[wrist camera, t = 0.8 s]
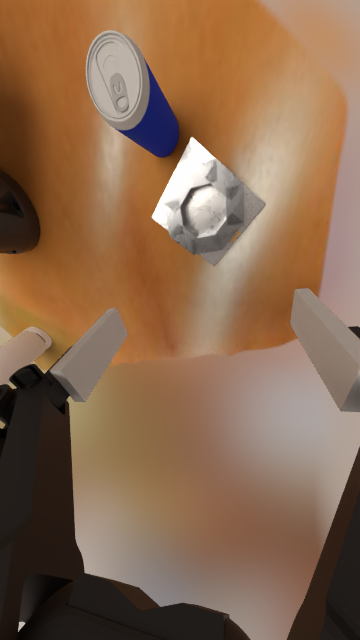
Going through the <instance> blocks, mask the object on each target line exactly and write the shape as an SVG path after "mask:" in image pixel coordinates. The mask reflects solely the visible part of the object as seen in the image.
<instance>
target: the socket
mask: <svg viewBox="0 0 360 640" xmlns="http://www.w3.org/2000/svg"><path fill="white" fill-rule="evenodd" d="M264 205H265V203H264V202H263V201H262V200H261V199H260V198H258V197H257V196H256V195H255V194H254V193H253V192H252V191H251V190H250V189H249V188H248V187H246V186H245V185H244V183H243V182H241V181H240V180H239V179H238V178H237V177H236V176H235V175H234V174H233V173H232V172H230V171H229V170H228V169H227V168H226V167H225V166H224V165H223V164H222V163H221V162H220V161H218V160H217V159H216V158H215V157H214V156H212V155H211V154H210V153H209V152H208V151H207V150H206V149H205V148H204V147H203V146H202V145H200V144H199V143H198V142H197V141H196V140H195V139H194V138H193V137H191V139H190V141H189V143H188V145H187V147H186V149H185V151H184V153H183V155H182V157H181V159H180V161H179V163H178V165H177V167H176V169H175V171H174V173H173V175H172V177H171V179H170V181H169V183H168V185H167V187H166V189H165V191H164V193H163V195H162V197H161V199H160V201H159V203H158V205H157V207H156V209H155V211H154V213H153V215H152V217H151V218H152V219H153V220H155V221H156V222H157V223H159V224H160V225H161V226H163V227H164V228H165V229H166V230H168V231H169V235H170V237H171V238H172V239H174V240H175V241H176V242H178V243H179V244H180V245H181V246H183V247H184V248H185V249H187V250H188V251H189V252H191V253H192V254H193V255H194V254H199V255H200V256H202V257H203V258H204V259H205V260H207V261H208V262H209V263H211V264H212V265H213V266H215V265H216V264H217V262H218V261H219V260H220V259H221V258H222V256H223V255H224V254H225V253H226V251H227V250H228V249H229V248H230V247H231V245H232V244H233V243H234V242H235V240H236V239H237V238H238V237H239V236H240V234H241V233H242V232H243V231H244V229H245V228H246V227H247V226H248V225H249V223H250V222H251V221H252V220H253V219H254V217H255V216H256V215H257V214H258V212H259V211H260V210H261V209H262V208H263V206H264Z"/></svg>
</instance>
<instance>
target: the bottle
mask: <svg viewBox="0 0 360 640" xmlns="http://www.w3.org/2000/svg"><path fill="white" fill-rule="evenodd" d="M36 333H37V334H39V335H40V336H41V337H42V338H43V339H44V340H45V341H46V342H44V340H43V339H42V338H41V337H40V336H38V335H37V334H36ZM51 345H52V340H51V338H50V337H49V335H48V334H47V333H46V332H45V331H43V330H42V329H39V328H37V327H29V328H27V329H25V330H24V331H23V332H21V333H20V334H18V335H17V336H15V337H14V338H12V339H11V340H9V341H8V342H6V343H5V344H4V345H2V346H1V347H0V385H3V384H8V383H9V382H10V381H9V378H10V377H11V376H12V375H13V374H14V373H15V372H16V371H17V370H19V369H20V368H22V367H24V366H27V365H30V364H31V363H32V362H33V361H34V360H35V359H36V358H38V357H39V356H40V355H41V354H42V353H43V352H44V351H45V350H47V349H48V348H49V347H50V346H51Z"/></svg>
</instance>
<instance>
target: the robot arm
mask: <svg viewBox="0 0 360 640" xmlns="http://www.w3.org/2000/svg"><path fill="white" fill-rule="evenodd" d="M38 239H39V222H38V218H37V215H36V212H35V210H34V208H33V206H32V204H31V202H30V200H29V198H28V197H27V195H26V194H25V192H24V191H23V190H22V189H21V187H20V186H19V185H18V184H17V183H16V182H15V181H14V180H13V179H12V178H11V177H10V176H9V175H7V174H6V173H5V172H3V171H2V170H0V253H7V254H18V253H22V252H26V251H29V250H31V249H33V248H34V247H35V246H36V244H37V242H38ZM290 325H291V327H292V329H293V330H294V332H295V334H296V335H297V337H298V339H299V341H300V342H301V344H302V346H303V347H304V349H305V351H306V353H307V354H308V356H309V358H310V360H311V361H312V363H313V365H314V367H315V368H316V370H317V372H318V373H319V375H320V377H321V379H322V380H323V382H324V384H325V385H326V387H327V389H328V390H329V392H330V394H331V396H332V398H333V399H334V401H335V403H336V404H337V406H338V408H339V409H340V411H348V412H349V411H350V412H360V327H358V326H356V327H347V326H346V325H345V324H344V323H343V322H342V321H341V320H340V319H339V318H338V317H337V316H336V315H335V314H334V313H333V312H332V311H331V310H330V309H329V308H328V307H327V306H326V305H325V304H324V303H323V302H322V301H321V300H320V299H319V298H318V297H317V296H316V295H315V294H314V293H313V292H312V291H311V290H310V289H309V288H304V289H295V293H294V299H293V306H292V313H291V320H290ZM127 335H128V333H127V331H126V328H125V326H124V324H123V322H122V319H121V317H120V315H119V312H118V310H117V308H110V309H108V310H107V311H106V312H105V313H104V314H103V315H102V316H101V317H100V318H99V319H98V320H97V321H96V322H95V323H94V324H93V325H92V326H91V328H90V329H89V330H88V331H87V332H86V333H85V334H84V335H83V336H82V337H81V338H80V339H79V340H78V341H77V342H76V343H75V344H74V345H73V346H71V347H70V348H69V349H68V350H67V351H66V352H65V354H63V355H62V356H61V357H60V359H58V361H57V362H56V363H55V364H54V365H53V366H52V367H51V368H50V369H49V370H48V371H47V372H46V373H45V374H44V373H43V372H42V371H41V370H40V369H39V368H38V366H37V365H35V364H30V365H27V366H24V367H22V368H20V369H19V370H17V371H16V372H15V373H14V374H13V375H12V376H11V377H10V378H9V381H10V382H12V383H13V384H14V385H15V386H16V387H17V388H16V389H12V388H11V387H10V386H9V385H8V384H3V385H0V420H1V421H2V422H3V423H5V424H6V425H5V426H4V428H3V429H1V428H0V640H250V638H249V637H248V636H247V635H246V633H245V632H244V631H243V630H242V629H241V628H240V627H239V626H238V625H237V624H236V623H234V622H233V621H232V620H231V619H229V614H226V613H223V612H219V611H215V610H212V609H209V608H206V607H202V606H199V605H194V604H187V603H179V604H175V605H169V606H164V607H160V606H159V605H158V604H157V603H156V602H154V601H153V600H152V599H151V598H150V597H149V596H148V595H147V594H145V593H144V592H143V591H142V590H141V589H140V588H139V587H135V586H132V585H129V584H125V583H122V582H118V581H115V580H111V579H107V578H103V577H98V576H94V575H90V574H86V573H84V564H83V559H82V555H81V552H80V550H79V548H78V546H77V543H76V540H75V523H74V501H73V480H72V458H71V437H70V416H69V403H68V401H67V398H68V397H69V396H71V397H72V399H73V400H74V401H76V402H85V401H86V400H87V398H88V397H89V395H90V393H91V392H92V390H93V389H94V387H95V386H96V384H97V382H98V381H99V379H100V378H101V376H102V375H103V373H104V371H105V370H106V368H107V367H108V365H109V364H110V362H111V360H112V359H113V357H114V356H115V354H116V352H117V351H118V349H119V348H120V346H121V345H122V343H123V341H124V340H125V338H126V337H127ZM22 621H23V622H25V625H24V626H23V627H22V628H21V629H20V631H19V632H18V626H19V622H22ZM287 640H360V447H359V450H358V453H357V456H356V459H355V461H354V464H353V467H352V470H351V472H350V475H349V478H348V481H347V483H346V486H345V489H344V492H343V494H342V497H341V500H340V503H339V505H338V508H337V511H336V514H335V517H334V519H333V522H332V525H331V528H330V531H329V533H328V536H327V539H326V541H325V544H324V547H323V550H322V553H321V555H320V558H319V561H318V564H317V567H316V569H315V572H314V575H313V577H312V580H311V583H310V586H309V589H308V591H307V594H306V596H305V599H304V601H303V604H302V605H301V607H300V609H299V611H298V613H297V615H296V618H295V620H294V622H293V625H292V627H291V630H290V632H289V635H288V638H287Z"/></svg>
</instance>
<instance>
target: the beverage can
mask: <svg viewBox="0 0 360 640" xmlns="http://www.w3.org/2000/svg"><path fill="white" fill-rule="evenodd" d="M86 80H87V85H88V89H89V93H90V96H91V98H92V100H93V102H94V104H95V106H96V108H97V110H98V111H99V113H100V115H101V116H102V118H103V119H104V120H105V121H106V122H107V123H108V124H109V125H110V126H112V127H113V128H115V129H116V130H118V131H119V132H121V133H122V134H124V135H125V136H127V137H128V138H130V139H131V140H133V141H134V142H136V143H137V144H139V145H140V146H142V147H143V148H145V149H146V150H148V151H149V152H151V153H152V154H154V155H155V156H158V157H166V156H168V155H170V154H171V153H172V152H173V151H174V149H175V147H176V145H177V143H178V138H179V126H178V122H177V119H176V117H175V115H174V113H173V111H172V109H171V108H170V106H169V104H168V102H167V100H166V98H165V96H164V94H163V93H162V91H161V89H160V87H159V85H158V83H157V81H156V79H155V78H154V76H153V74H152V72H151V70H150V68H149V66H148V64H147V63H146V61H145V59H144V57H143V55H142V53H141V51H140V50H139V48H138V47H137V45H136V44H135V43H134V42H133V41H132V40H131V39H130V38H129V37H127V36H126V35H124V34H121V33H120V32H117V31H113V30H108V31H104V32H102V33H100V34H99V35H98V36H97V37H96V38H95V39H94V41H93V42H92V44H91V46H90V48H89V51H88V55H87V60H86Z"/></svg>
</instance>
